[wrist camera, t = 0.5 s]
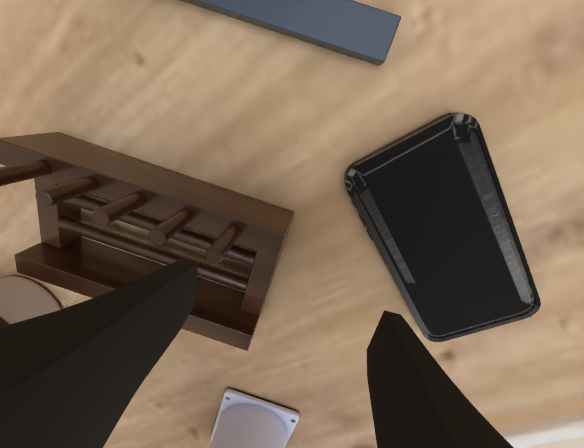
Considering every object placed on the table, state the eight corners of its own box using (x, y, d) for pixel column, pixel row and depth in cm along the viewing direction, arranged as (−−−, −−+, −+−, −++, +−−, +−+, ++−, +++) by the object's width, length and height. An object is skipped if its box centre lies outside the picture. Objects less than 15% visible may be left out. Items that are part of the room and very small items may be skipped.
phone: (472, 104, 15) (545, 313, 19) (463, 104, 16) (534, 302, 20) (336, 175, 17) (427, 346, 21) (336, 171, 18) (423, 335, 22)
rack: (260, 313, 24) (233, 389, 18) (64, 247, 24) (-33, 298, 18) (294, 211, 20) (275, 262, 13) (57, 132, 20) (-74, 145, 14)
